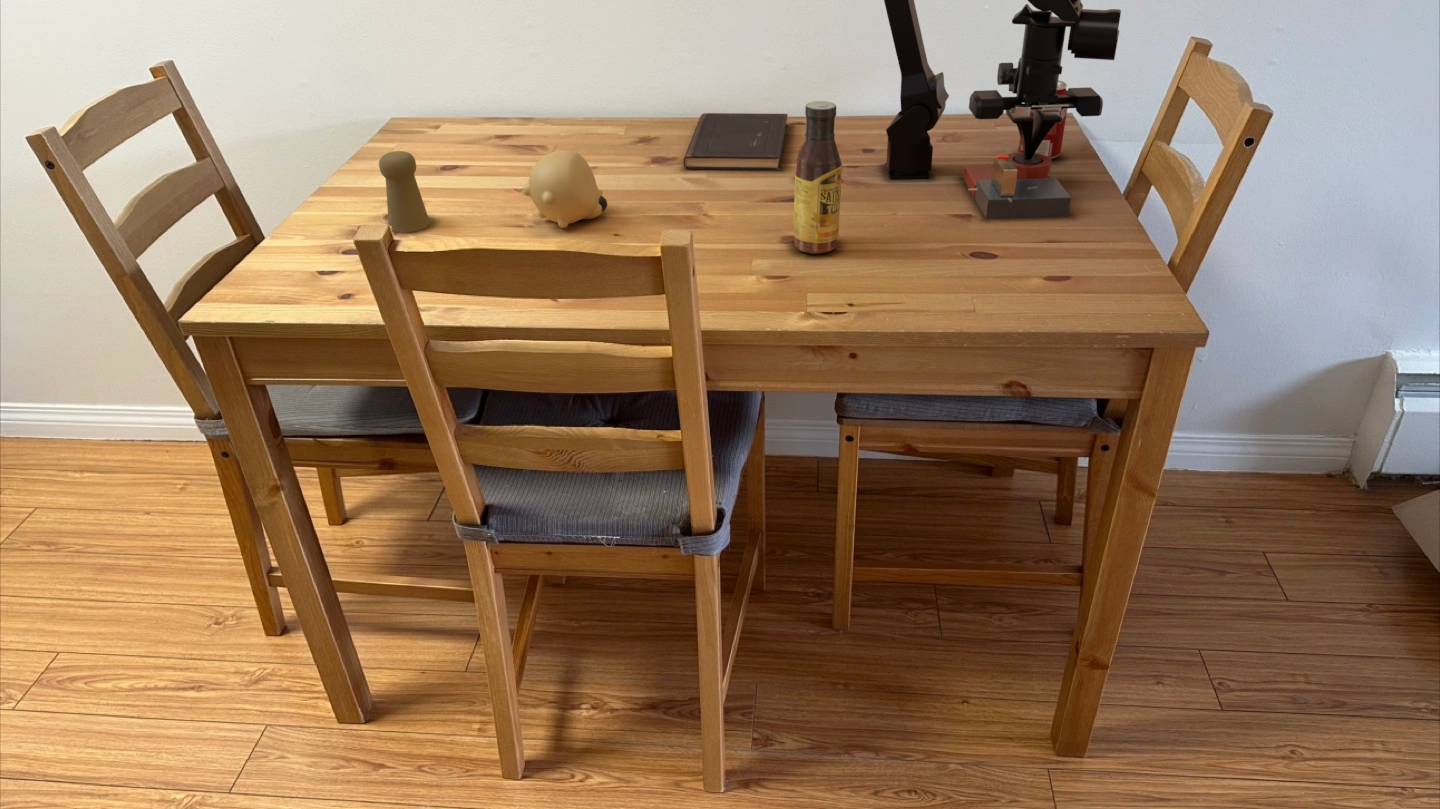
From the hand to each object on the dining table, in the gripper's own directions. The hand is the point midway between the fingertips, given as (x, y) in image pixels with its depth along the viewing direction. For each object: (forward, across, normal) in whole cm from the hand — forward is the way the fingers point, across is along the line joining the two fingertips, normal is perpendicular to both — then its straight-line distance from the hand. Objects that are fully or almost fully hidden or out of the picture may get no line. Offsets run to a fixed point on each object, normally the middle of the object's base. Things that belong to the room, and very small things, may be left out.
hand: (1027, 158), depth 164 cm
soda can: (+4, -6, -12) cm, 14 cm away
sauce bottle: (+4, +34, +22) cm, 41 cm away
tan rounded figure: (+4, +70, +10) cm, 71 cm away
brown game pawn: (+4, +94, +9) cm, 95 cm away
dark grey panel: (+4, +4, +10) cm, 11 cm away
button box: (+4, +3, +1) cm, 5 cm away
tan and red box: (+1, +6, +9) cm, 11 cm away
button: (+2, 0, 0) cm, 2 cm away
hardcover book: (+4, +44, -22) cm, 50 cm away
